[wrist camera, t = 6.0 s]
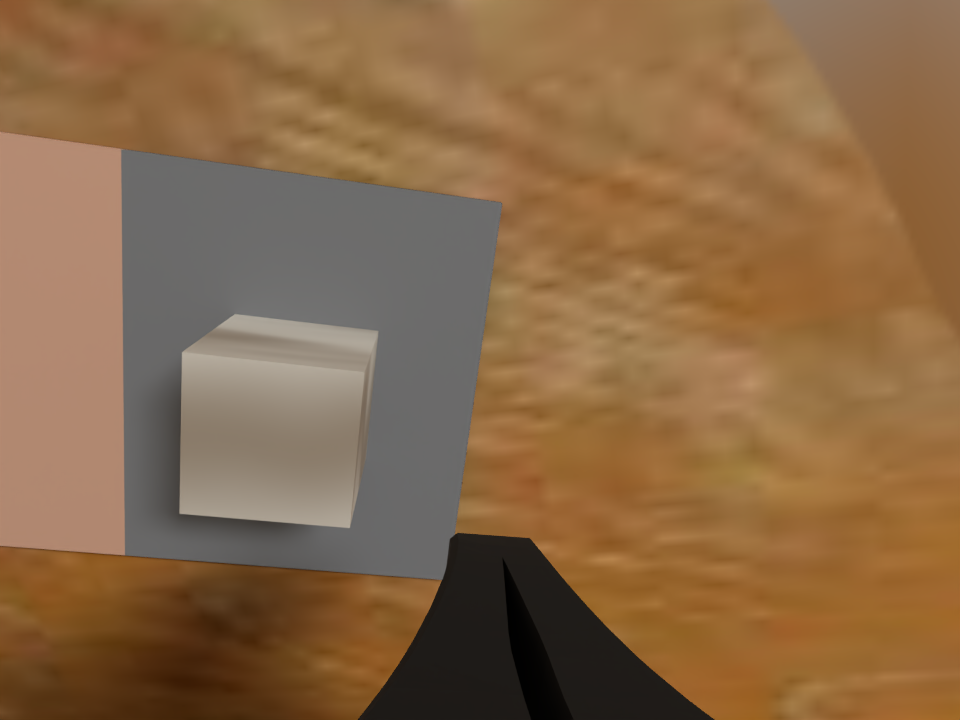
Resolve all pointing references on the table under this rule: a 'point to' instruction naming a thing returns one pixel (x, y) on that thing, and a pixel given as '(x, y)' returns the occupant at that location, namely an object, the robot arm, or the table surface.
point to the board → (201, 308)
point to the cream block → (276, 421)
